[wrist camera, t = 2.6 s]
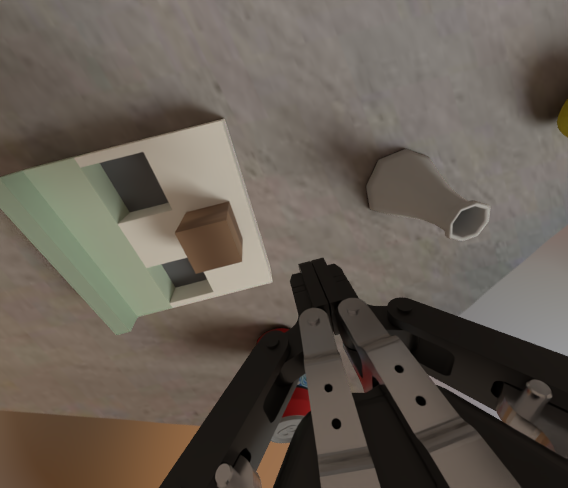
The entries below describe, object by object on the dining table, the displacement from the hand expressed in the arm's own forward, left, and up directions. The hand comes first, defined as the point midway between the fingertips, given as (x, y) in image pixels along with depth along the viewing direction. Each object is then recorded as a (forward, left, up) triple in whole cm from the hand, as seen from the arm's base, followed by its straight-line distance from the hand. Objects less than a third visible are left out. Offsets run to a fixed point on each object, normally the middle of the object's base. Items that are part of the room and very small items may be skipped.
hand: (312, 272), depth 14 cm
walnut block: (+2, -7, -10) cm, 12 cm away
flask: (-3, +12, -13) cm, 18 cm away
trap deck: (+4, -11, -13) cm, 17 cm away
